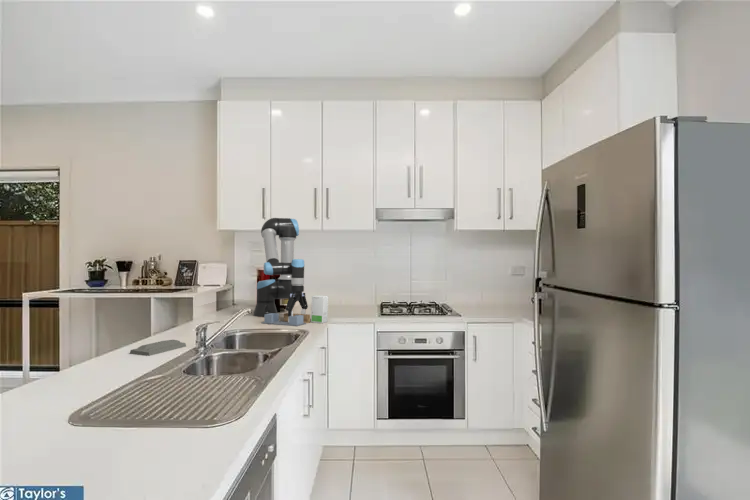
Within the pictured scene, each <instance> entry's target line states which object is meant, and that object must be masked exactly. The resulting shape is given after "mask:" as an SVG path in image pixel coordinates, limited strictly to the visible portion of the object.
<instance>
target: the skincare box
mask: <svg viewBox="0 0 750 500" xmlns="http://www.w3.org/2000/svg"><path fill="white" fill-rule="evenodd" d="M310 308H311V309H310V310H311V312H310V323H314V324H315V323H317V324H324V323H328V318H329V317H328V316H329V313H328V312H329V296H327V295H312V296H311V307H310Z"/></svg>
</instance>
